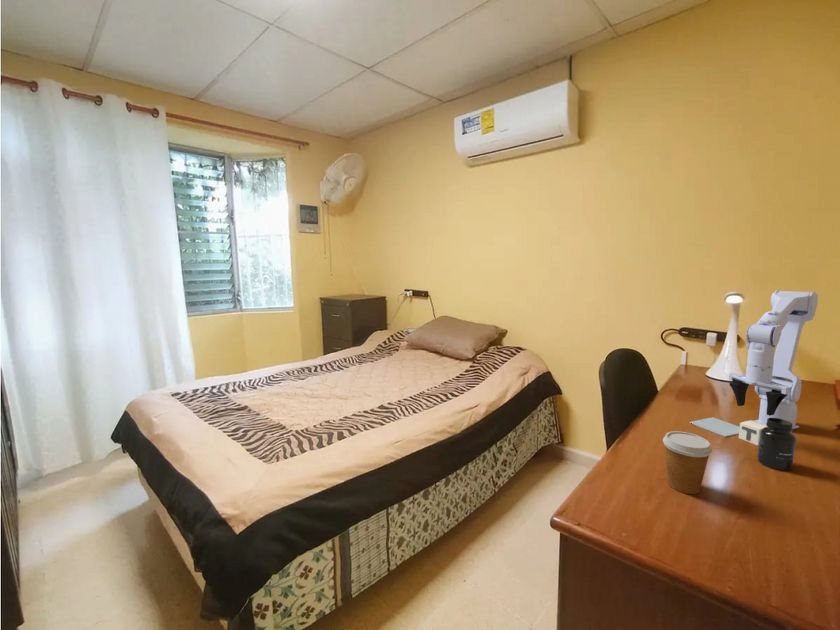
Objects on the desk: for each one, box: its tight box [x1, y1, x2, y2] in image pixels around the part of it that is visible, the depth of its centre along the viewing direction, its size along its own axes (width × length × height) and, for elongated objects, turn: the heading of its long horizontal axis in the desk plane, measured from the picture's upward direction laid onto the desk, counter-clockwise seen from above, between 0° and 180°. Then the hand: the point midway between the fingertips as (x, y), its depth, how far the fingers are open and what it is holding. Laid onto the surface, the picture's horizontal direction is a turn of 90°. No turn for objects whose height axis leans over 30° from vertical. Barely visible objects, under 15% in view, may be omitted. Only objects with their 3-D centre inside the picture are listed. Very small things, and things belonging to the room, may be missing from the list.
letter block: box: [738, 419, 767, 446], centre depth 112 cm, size 5×5×5 cm
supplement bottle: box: [756, 418, 797, 471], centre depth 98 cm, size 7×7×12 cm
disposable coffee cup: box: [662, 430, 713, 495], centre depth 89 cm, size 10×10×12 cm
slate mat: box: [688, 416, 740, 438], centre depth 121 cm, size 11×11×1 cm
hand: (755, 409), depth 111 cm, fingers open, 7 cm apart
